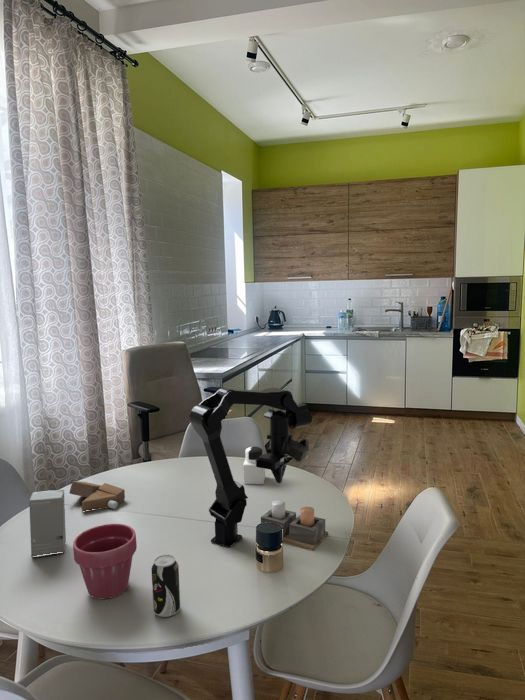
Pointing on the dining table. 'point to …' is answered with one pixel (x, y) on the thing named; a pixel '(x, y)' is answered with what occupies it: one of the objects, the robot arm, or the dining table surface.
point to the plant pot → (105, 558)
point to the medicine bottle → (253, 467)
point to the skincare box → (47, 522)
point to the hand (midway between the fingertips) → (279, 482)
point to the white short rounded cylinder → (278, 509)
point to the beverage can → (165, 586)
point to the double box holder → (299, 530)
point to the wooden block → (98, 495)
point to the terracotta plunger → (307, 516)
